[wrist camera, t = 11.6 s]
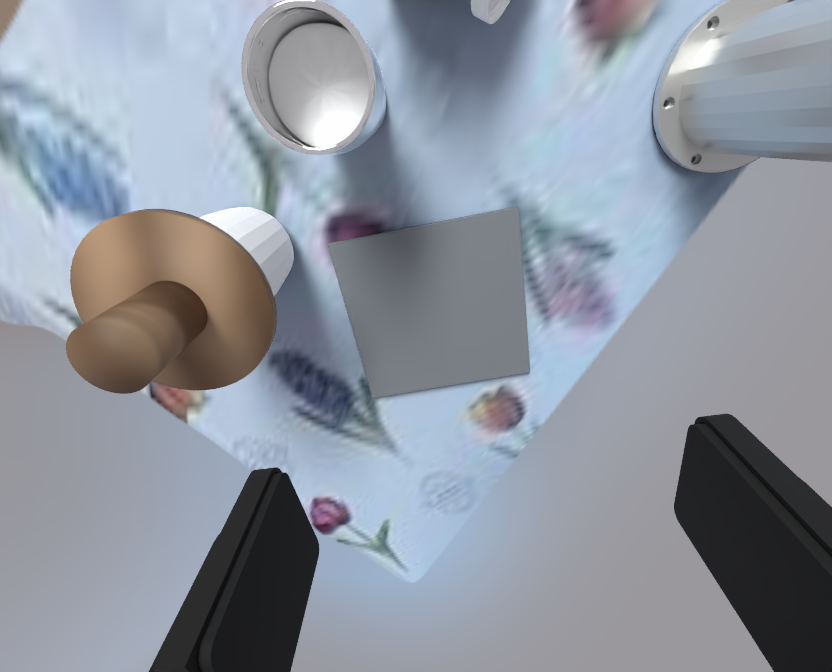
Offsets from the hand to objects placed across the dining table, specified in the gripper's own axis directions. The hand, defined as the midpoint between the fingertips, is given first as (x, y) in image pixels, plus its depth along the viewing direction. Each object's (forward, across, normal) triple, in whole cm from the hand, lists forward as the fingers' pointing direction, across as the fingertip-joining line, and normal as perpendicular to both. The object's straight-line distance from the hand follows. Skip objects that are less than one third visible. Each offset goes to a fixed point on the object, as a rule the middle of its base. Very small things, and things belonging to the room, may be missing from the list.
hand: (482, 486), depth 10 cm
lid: (+17, +17, 0) cm, 24 cm away
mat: (+31, +2, +10) cm, 33 cm away
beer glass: (+32, +6, -10) cm, 34 cm away
